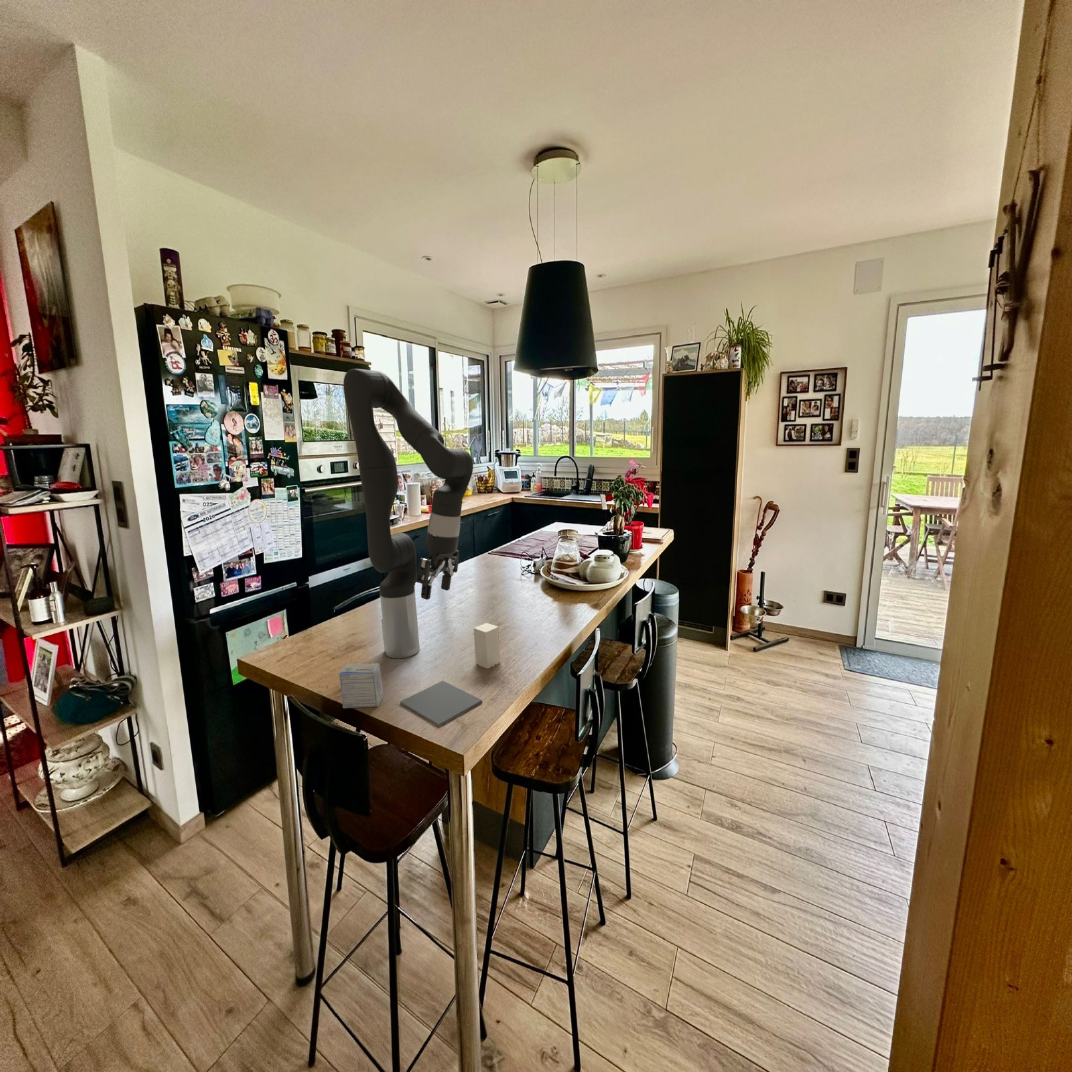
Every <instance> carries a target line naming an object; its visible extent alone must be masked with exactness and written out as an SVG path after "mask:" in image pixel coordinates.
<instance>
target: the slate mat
mask: <svg viewBox="0 0 1072 1072" xmlns="http://www.w3.org/2000/svg"><path fill="white" fill-rule="evenodd" d="M482 703H483V700H482V699H480V698H479V697H476V696H475V695H473V694H470V693H468V692H466V691H464V690H462V689H461V688H459V687H457V686H455V685H453V684H450V683H448V682H446V681H445V680H441V681H438V682H437V683H435V684H433V685H430V686H429V687H427V688H425V689H422V690H420V691H419V692H417V693H415V694H413V695H411V696H409V697H407V698H405V699H402V700H401V701H399V704H400V706H403V707H405V708H406V709H408V710H410V711H411V712H413V713H415V714H416V715H418V716H420V717H421V718H423V719H425V720H427V721H428V722H430V723H432V724H433V725H435V726H436V727H438V728H440V727H441V726H443V725H445V724H447V723H449V722H450V721H453V720H454V719H456V718H458V717H460V716H461V715H462V714H464V713H467V712H468V711H469V710H471V709H473V708H474V707H477V706H478V705H480V704H482Z"/></svg>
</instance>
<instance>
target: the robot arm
mask: <svg viewBox="0 0 1072 1072" xmlns="http://www.w3.org/2000/svg"><path fill="white" fill-rule="evenodd" d="M343 395H344V399H345V404H346V408H347V409H346V410H347V412H348V415H349V419H350V424H351V428H352V432H353V437H354V443H355V448H356V454H357V461H358V463H357V464H358V469H359V476H360V477H359V478H360V483H361V487H362V494H363V500H364V501H363V503H364V508H365V516H366V533H367V550H368V556H369V560H370V562H371V565H372V567H373V568H374V569H375V570H376V571H377V572H379V573H383V574H385V573H388V574H387V575H386V577H385V578H384V579H383V580H382V581H381V583H380V584H379V587H378V588H379V590H378V591H379V598H380V600H379V601H380V607H381V608H380V609H381V630H382V640H383V649H384V651H385V655H386V657H388V658H391V659H404V658H409V657H412V656H415V655H416V654H418V653H419V651H420V650H421V649H420V637H419V635H420V634H419V625H418V613H417V612H418V611H417V599H416V589H415V588H416V587H415V586H416V583H418V584H421V590H420V597H421V598H422V599H423V600H426V601H428V600H430V599H431V597H432V595H431V594H432V588H433V585H432V584H433V582H434V580H435V579H436V578H438V577H439V574H440V573H441V572H442V576H441V578H442V579H441V585H440V589H442V590H444V591H449V590H450V588H451V582H452V577H453V576H454V573H457V572H458V568H459V560H460V550H458V544H459V537H460V531H461V530H460V529H461V514H462V509H463V500H464V496H465V494H466V491H467V490H468V486H469V484H470V482H471V479H472V476H473V472H474V460H473V458H472V455H471V454H470V452H469V451H467V450H465V449H463V448H448V447H447V446H445V439H444V436H443V434H441V433H440V431H438V430H437V429H436V428H435V427H434V426H433V425H432V424H431V423H430V422H428V421H427V420H426V419H425V418H424V417H423V416H422V415H421V414H420V413H419V412H418V411H417V410H416V409H415V408H414V406H412V404H411V403H410V402H409V401H408V399H407V398H406V397H405V395H404V394H403V393H402V392H401V390H400V389H399V388H398V386H397V385H396V384H395V383H394V381H393V380H392V379H391V378H390V377H389V376H388V375H387V374H386V373H384V372H382V371H379V370H372V369H362V368H351V369H349V370H347V372H345V374H344V377H343ZM373 409H381V410H384V411H385V412H387V413H388V414H390V415H391V416H392V417H393V418H394V419H395V421H396V426H397V428H398V429H397V430H398V432H399V434H400V436H401V437H402V438H403V440H404V441H405V443H407V444H408V445H409V446H410V447H411V448H412V449H413V450H415V452H417V453H418V454H419V455H420V456H421V459H422V460H423V462H424V464H425V465H426V467H427V469H428V470H429V471H430V472H431V473H432V474H433V475H434V476H436V477H437V478H440V479H442V480H444V483H443V484H442V485H441V486H440V487H438V488H435V490H434V491H433V493H432V494H433V495H432V500H431V501H432V502H431V508H430V509H431V510H430V516H429V519H428V523H427V525H428V526H427V533H426V541H425V549H426V550H427V551H428V557H427V558H423V557H420V558H419V561H418V565H417V552H416V551H417V550H416V547H415V543H414V541H413V539H412V538H411V537H410V535H408V534H407V533H404V532H397V533H392V531H391V514H392V509H393V507H394V504H395V501H396V497H397V494H398V491H399V483H400V482H399V475H398V474H399V473H398V467H397V462H396V457H395V456H394V453H393V451H392V450H391V448H390V446H389V445H388V444H387V443H386V441H385V440H384V438H383V437H382V435H381V434H380V433H379V430H378V429H377V425H376V423H375V419H374V414H373ZM417 566H418V567H417Z"/></svg>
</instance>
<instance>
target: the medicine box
mask: <svg viewBox="0 0 1072 1072" xmlns="http://www.w3.org/2000/svg"><path fill="white" fill-rule="evenodd" d="M338 678H339V686H340V694H341V702H342V708H343V709H353V708H357V709H358V708H373V707H374V708H375V707H380V703H381V702H382V700H383V698H384V691H383V690H384V689H383V682H382V674H381V665H380V663H379V662H378V663H377V662H376V663H354V664H345V665H344V667H343V668H342V669H341V671H340V672H339V673H338Z"/></svg>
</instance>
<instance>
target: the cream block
mask: <svg viewBox="0 0 1072 1072" xmlns="http://www.w3.org/2000/svg"><path fill="white" fill-rule="evenodd" d="M499 628H500V627H499V626H497V625H495V624H491V623H489V622H484V623H482V624H481V625H477V626H475V627H473V637H474V638H473V639H474V653H475V665H477V664H479V665H478V666H480V667H482V666H483V667H482V668H484V667H485V668H484V669H487V668H489V669H490V667H491V666H492V667H494V666H496V665H499V664H500V663H501V653H500V651H501V650H500V631H499V630H500V629H499ZM499 662H500V663H499ZM495 664H496V665H495ZM492 667H491V668H492Z"/></svg>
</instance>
